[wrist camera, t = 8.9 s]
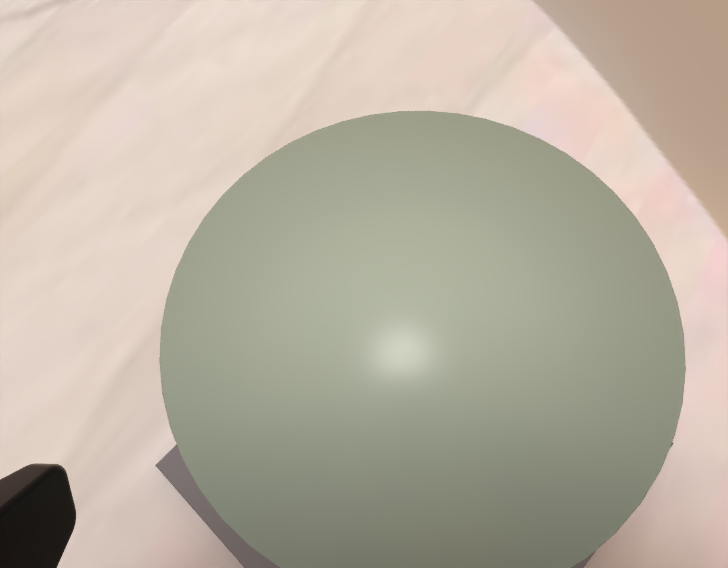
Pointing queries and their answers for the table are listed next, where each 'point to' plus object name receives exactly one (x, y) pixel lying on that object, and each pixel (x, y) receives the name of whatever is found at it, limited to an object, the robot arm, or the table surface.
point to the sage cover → (422, 350)
